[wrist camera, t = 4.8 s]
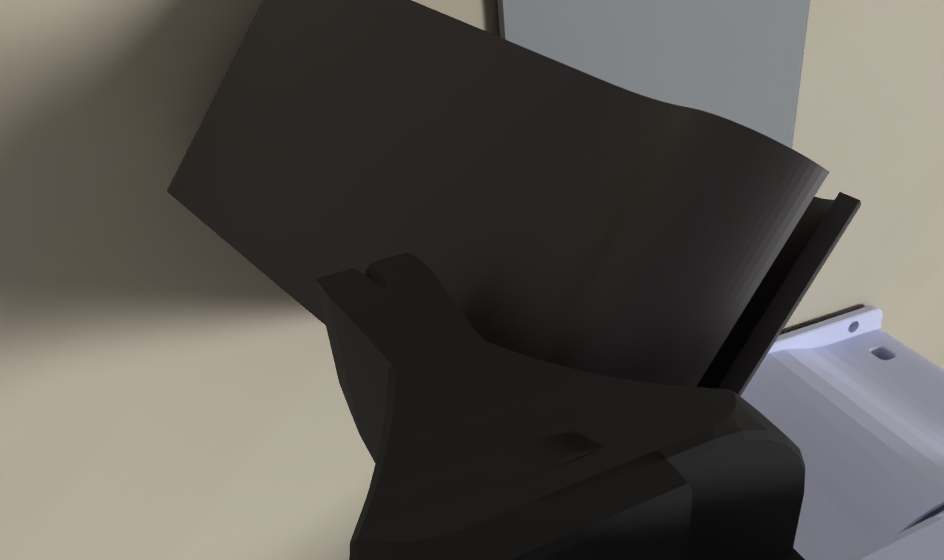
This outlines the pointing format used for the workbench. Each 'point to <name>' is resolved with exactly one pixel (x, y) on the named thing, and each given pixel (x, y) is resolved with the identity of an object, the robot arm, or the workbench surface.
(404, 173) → the phone stand
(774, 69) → the mat
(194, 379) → the workbench surface
